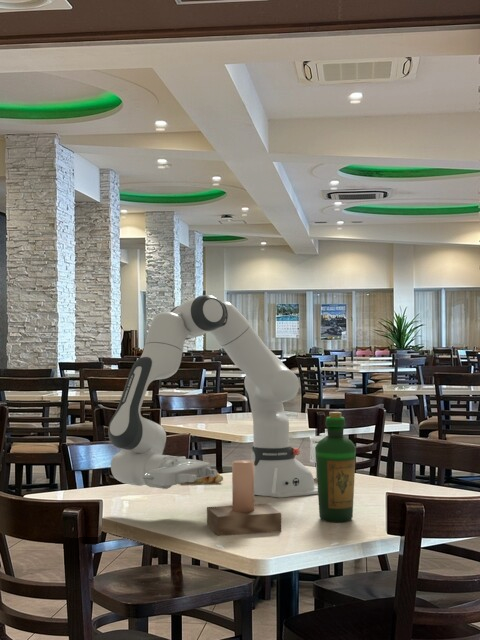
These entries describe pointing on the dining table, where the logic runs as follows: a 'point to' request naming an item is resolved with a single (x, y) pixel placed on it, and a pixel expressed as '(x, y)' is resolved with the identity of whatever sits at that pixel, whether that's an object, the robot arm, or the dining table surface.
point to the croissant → (208, 479)
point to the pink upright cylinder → (243, 486)
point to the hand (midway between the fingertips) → (205, 476)
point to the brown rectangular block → (243, 520)
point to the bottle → (335, 472)
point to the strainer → (312, 447)
